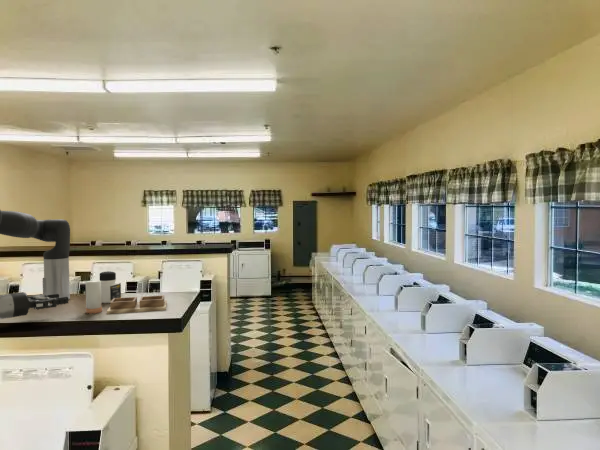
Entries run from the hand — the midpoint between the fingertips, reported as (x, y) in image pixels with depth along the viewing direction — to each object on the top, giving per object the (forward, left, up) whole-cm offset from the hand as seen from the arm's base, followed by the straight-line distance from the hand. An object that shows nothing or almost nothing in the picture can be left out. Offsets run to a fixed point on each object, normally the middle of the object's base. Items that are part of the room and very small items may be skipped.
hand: (63, 298), depth 157 cm
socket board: (+24, +7, -7) cm, 26 cm away
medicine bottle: (+11, +25, -7) cm, 28 cm away
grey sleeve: (+9, +5, -7) cm, 12 cm away
